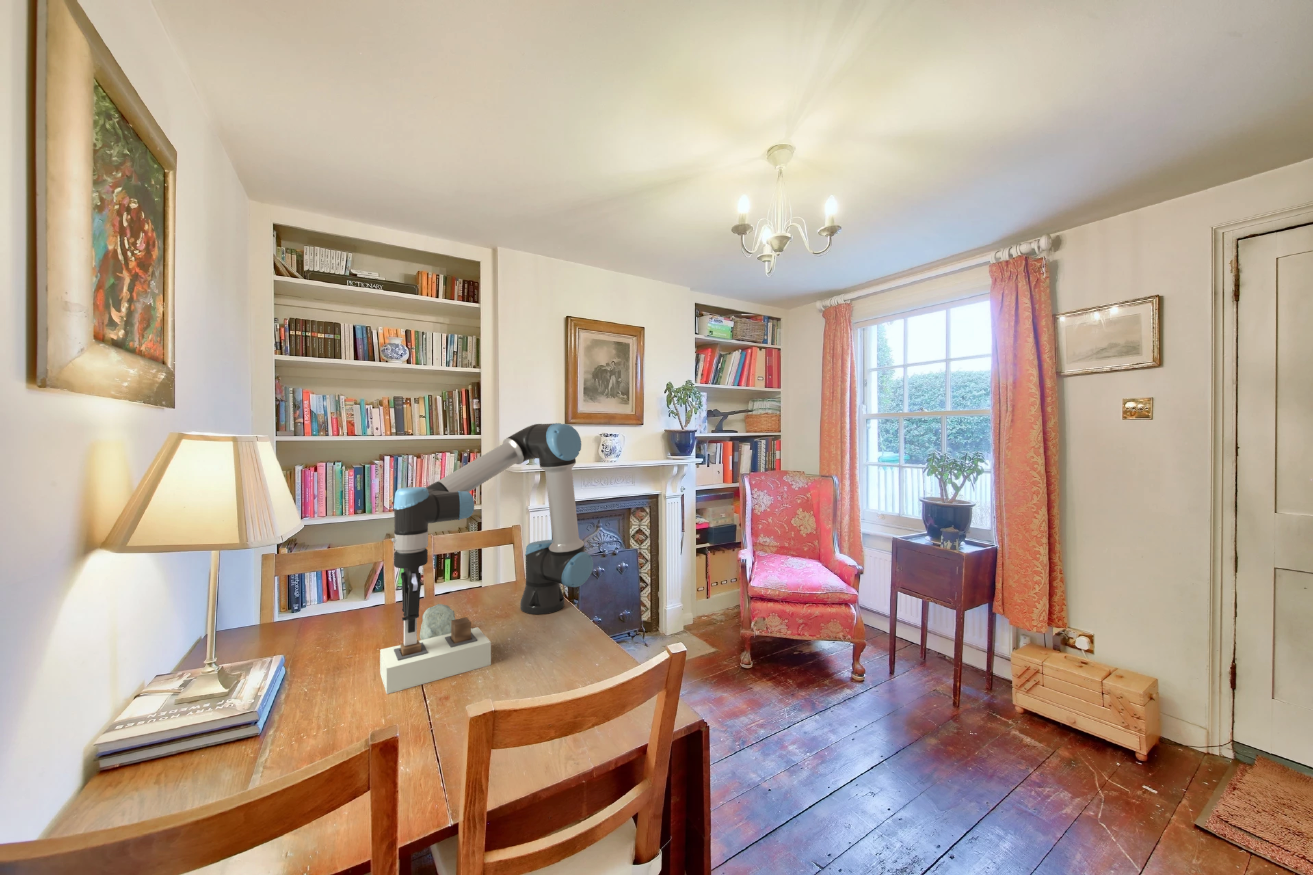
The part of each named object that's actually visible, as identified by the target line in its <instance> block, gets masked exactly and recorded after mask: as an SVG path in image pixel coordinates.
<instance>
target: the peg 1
mask: <svg viewBox="0 0 1313 875" xmlns="http://www.w3.org/2000/svg"><path fill="white" fill-rule="evenodd" d="M419 641H420V640H419V639H417V643H416V644H412V645H407V646H404V642H402V643H400V645H401V655H402V656H406V655H410V654H414V653H418V652H421V644H420V642H419Z"/></svg>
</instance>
